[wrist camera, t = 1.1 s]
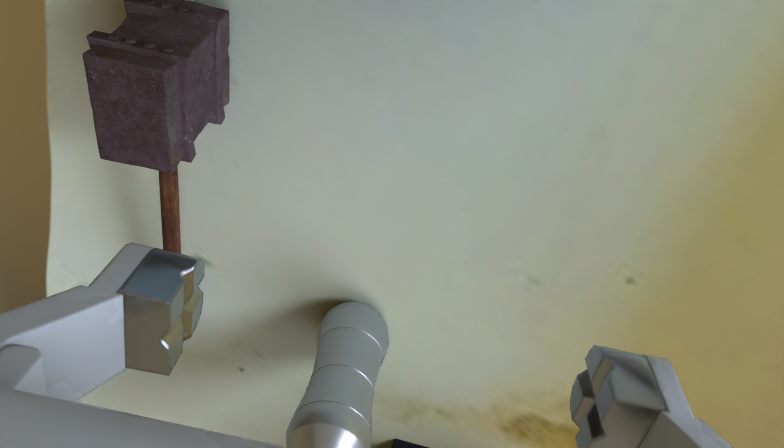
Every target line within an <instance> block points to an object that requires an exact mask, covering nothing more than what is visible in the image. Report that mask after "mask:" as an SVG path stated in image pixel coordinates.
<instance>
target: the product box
mask: <svg viewBox="0 0 784 448" xmlns="http://www.w3.org/2000/svg"><path fill="white" fill-rule="evenodd" d="M391 448H428V447H424V446H420V445H416V444H412V443H409V442H405V441H401V440H397V439H395V440H394V442H393V445H392V447H391Z"/></svg>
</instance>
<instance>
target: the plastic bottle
mask: <svg viewBox="0 0 784 448" xmlns="http://www.w3.org/2000/svg"><path fill="white" fill-rule="evenodd" d="M388 346H389V337H388V327H387V324H386V322H385V320H384V319H383V317H382V316H381V315H380V314H379V313H378V312H377V311H376V310H375V309H374V308H372V307H370V306H369V305H367V304H364V303H360V302H346V303H342V304H339V305H336V306H335V307H333V308H331V309H330V310H329V311H328V312H327V314H326V315H325V317H324V319H323V320H322V322H321V323H320V326H319V329H318V336H317V353H316V358H315V364H314V369H313V373H312V376H311V379H310V381H309V384H308V387H307V389H306V392H305V394H304V396H303V398H302V400H301V402H300V404H299V406H298V408H297V410H296V411H295V413H294V415H293V417H292V419H291V422H290V424H289V426H288V429H287V432H286V447H288V448H371V445H372V402H373V393H374V386H375V383H376V379H377V376H378V372H379V369H380V366H381V364H382V362H383V360H384V358H385V355H386V352H387V350H388Z"/></svg>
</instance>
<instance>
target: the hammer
mask: <svg viewBox="0 0 784 448" xmlns="http://www.w3.org/2000/svg"><path fill="white" fill-rule="evenodd" d="M124 2H125V8H126V12H127V18H126V19H125V20H124V22H123V23H122V24H121V25H120V26H119V27H118V28H117V29H116V30H115V31H114V32H112V33H111V34H108V33H104V32H99V31H94V32H92V33H90V34H89V35H87V39H88V43H89V46H90V48H91V49H89V50H87V51H86V52H85V53H84V54H83V60H84V65H85V71H86V77H87V83H88V89H89V95H90V101H91V106H92V110H93V119H94V125H95V131H96V137H97V143H98V148H99V154H100V158H101V159H105V160H110V161H115V162H119V163H124V164H130V165H135V166H141V167H146V168H150V169H155V170H159V184H160V201H161V218H162V235H163V250H166V251H170V252H175V253H179V254H181V245H180V218H179V192H178V171H177V166H178V164H179V162H180V160H181V161H186V162H190V163H191V162H192V160H193V159H194V157H195V155H196V153H195V147H194V141H195V139H196V137H197V136H198V134H199V133H200V132H201V131H202V130H203V128H204V127H205V126H206V125H207V123H208V122H210V123H214V124H220V125H221V124H222V122H223V120H224V119H225V114H224V109H223V107H224V106H225V105H226V104H228V103H229V56H228V46H229V11H228V10H224V9H219V8H215V7H211V6H206V5H202V4H198V3H193V2H189V1H185V0H180V1H177V0H124Z"/></svg>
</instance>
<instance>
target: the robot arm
mask: <svg viewBox="0 0 784 448" xmlns="http://www.w3.org/2000/svg"><path fill="white" fill-rule="evenodd" d="M203 277H204V262H203V260H202V259H200V258H195V257H191V256H187V255H183V254H179V253H175V252H170V251H166V250H162V249H158V248H153V247H149V246H144V245H140V244H135V243H129V244H126V245H125V246H124V247H123V248H122V249H121V250H120V251H119V252H118V254H117V255H116V256H115V257H114V258H113V259H112V260H111V261H110V263H109V264H108V265H107V266H106V267H105V268H104V269H103V270H102V272H101V273H100V274H99V275H98V276H97V277H96V278H95V279H94V281H93V282H92V283H91V284H90V285H89V286H88V287H86V286H78V287H75V288H72V289H69V290H66V291H64V292H61V293H58V294H55V295H52V296H50V297H47V298H44V299H41V300H38V301H35V302H33V303H30V304H27V305H24V306H21V307H19V308H16V309H13V310H10V311H7V312H5V313H2V314H0V448H288V447H283V446H278V445H274V444H269V443H264V442H260V441H255V440H250V439H246V438H241V437H236V436H232V435H227V434H222V433H218V432H213V431H208V430H204V429H199V428H194V427H190V426H185V425H180V424H176V423H171V422H166V421H161V420H157V419H152V418H147V417H143V416H138V415H133V414H129V413H124V412H119V411H115V410H110V409H105V408H101V407H96V406H91V405H87V404H82V403H77V402H74V401H76V400H78V399H79V398H81V397H82V396H84V395H86V394H87V393H89V392H91V391H92V390H94V389H95V388H97V387H99V386H100V385H102V384H103V383H105V382H107V381H108V380H110V379H112V378H113V377H115V376H116V375H118V374H120V373H121V372H123V371H125V368H130V369H135V370H141V371H146V372H152V373H157V374H162V375H168V376H169V374H170V373H171V371H172V369H173V367H174V366H175V364H176V362H177V360H178V359H179V357H180V355H181V354H182V342H183V341H185V340H187V339H189V338H191V336H192V334H193V332H194V330H195V329H196V326H197V323H198V321H199V318H200V315H201V310H202V304H203V293H202V291H201V290H200V288H199V287H198V285H199V284H200V282H201V281H202V279H203ZM585 360H586V364H587V368H588V369H587V370H585V371H583V372H582V373H580V374H578V375H577V378H576V380H575V382H574V385H573V387H572V392H571V397H570V411H571V417H572V420H573V421H574V422H575V424H576V425H577V426H578V427H579V428H580V429H579V431H578V433H577V435H576V437H575V438H576V442H577V447H578V448H733V447H732V446H731V445H730V444H729V443H727V442H726V441H725V440H724V439H723V438H722V437H721V436H720V435H719V434H717V433H716V432H715V431H714V430H713V429H712V428H711V427H710V426H708V425H707V424H706V423H705V422H704V421H703V420H701V419H697V418H695V417H694V415H693V413H692V410H691V408H690V406H689V403H688V401H687V399H686V396H685V394H684V392H683V389H682V387H681V385H680V382H679V380H678V378H677V375H676V373H675V371H674V368H673V366H672V364H671V362H670V361H669V360H667V359H665V358H660V357H655V356H650V355H644V354H642V355H640V354H635V353H631V352H626V351H621V350H617V349H612V348H607V347H603V346H598V345H594V346H593V347H592V348H591V349H590V350H589V352H588V354H587V356H586V358H585Z"/></svg>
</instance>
